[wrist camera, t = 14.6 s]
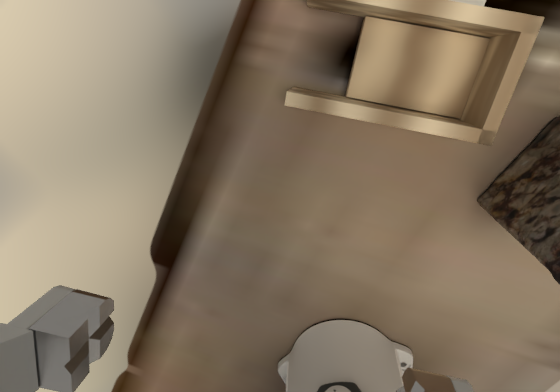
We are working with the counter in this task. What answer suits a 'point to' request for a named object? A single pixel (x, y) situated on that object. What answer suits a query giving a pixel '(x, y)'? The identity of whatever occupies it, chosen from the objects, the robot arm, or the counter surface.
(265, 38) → the counter surface
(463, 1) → the mat
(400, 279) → the counter surface
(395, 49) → the channel
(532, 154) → the stone block
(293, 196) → the counter surface
